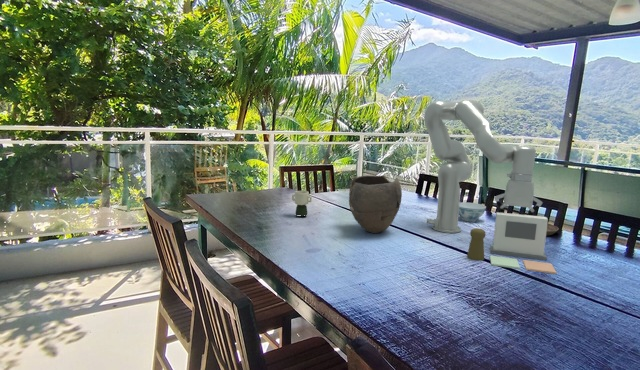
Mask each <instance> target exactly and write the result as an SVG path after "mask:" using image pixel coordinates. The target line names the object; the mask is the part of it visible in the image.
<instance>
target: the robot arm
mask: <svg viewBox="0 0 640 370" xmlns="http://www.w3.org/2000/svg"><path fill="white" fill-rule="evenodd" d="M484 110H485V109H484V106H483V104H482V103H481V102H480V101H477V100H471V99H469V100H468V99H465V100H461V101H448V100H435V101H433V102H431V103H430V104H429V105H427V108H425V111H424V115H423V121H424V125H425V128H426V131H427V133H428V136H429V139H430V142H431V146H432V149H433V152H434V155H435V157H436V159H438V160H439V161H448V162H445V163H443V164H442V165H440V167H439V169H438V171H437V179H438V192H437V193H438V194H437V195H438V196H437V208H436V209H437V210H436V217H435V218H434V219H431V218H426V223H427V224H431V225H432V229H433V230H434V231H436V232H440V233H448V234H454V233H455V234H457V233H460V232H461V231H462V228H461V227H460V226H458V225H459V217H460V215H459V204H460V202H461V187H460V183H461V182H466V181H467V180H468V179H469V178H471V176H472V166H471V163H470V160H469V157H468V154H467V151H466V148H465V146H464V145H463V143H462V142H461V141H459V140H457V139H452V138H451V136H450V134H449V129H448V128H447V126H446V125H445V123H444V120H445V121H460V122H461V123H462V124H463V125H464V126H465V127H466V128H467V130H468V131H470V133H471V134H472V135H473V137H474V141H475V143H476V145H477V147H478V149H479V150H480V152H481V153H482V154H483V155H484V156H485V157H486V158H487V159H488V160H489V161H491V162H492V163H495V164H506V163H507V164H508V163H512V164H511V172H510V173H506V178H509V179H507V183H506V185H505V186H506V187H505V190H504V193H501V194H498V195H496V196H494V200H495V203H496V205H498V207H499V208H500V209H499V213H505V212H506V209H505V207H507V206H510V207H511V206H512V207H520V208H528V211H527V215H530V216H534V212H535V211H537V210H538V209H540V207H541V206H542V205H543V203H544V202H543V201H542V200H540V199H538V198H537V197H535V196H534V195H535V194H534V191H535V187H534V186H535V185H534V184H535V183H534V182H533V181H532V180H533V174H534V173H533V172H534V166H535V160H536V154H537V153H536V151H537V150H536V148H535V147H532V146H525V145H523V146H522V145H521V146H518V145H515V144H510V143H509V144H508V143H506V144H505V143H500V142H499V141H498V140H497V138H495V136H494V135H493V134H492V132H491V128H492V121H491V120H490V119H489V118H488V117H487V116H486V115H485V114H484V112H485V111H484ZM502 198H503V202H501V201H500V199H502ZM534 202H535V203H536V204H535V205H534ZM533 205H534V206H533Z"/></svg>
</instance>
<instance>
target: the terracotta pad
mask: <svg viewBox="0 0 640 370" xmlns="http://www.w3.org/2000/svg"><path fill="white" fill-rule="evenodd" d="M522 263H523V265H524V268H525V270H526V271H532V272H537V273H546V274H550V275H551V274H552V275H553V274H554V275H557V271H556V269H555V267H554V265H553V264H552V263H549V262H542V261H533V260H528V259H527V260H526V259H522Z"/></svg>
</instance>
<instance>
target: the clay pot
mask: <svg viewBox="0 0 640 370" xmlns="http://www.w3.org/2000/svg"><path fill="white" fill-rule="evenodd" d="M402 193H403V192H402V186H401V182H400V180H399V179H398V177H396V178H395V179H394V180H393V181H391V180H389V179H388V178H387V177H386V176H385V175H360V176H355V177H354V178H353V179H352V181H351V183H350V186H349V192H348V205H349V209H350V210H349V211H350V212H351V214H352V216H353V218H354V220H355V221H356V223H358V225H359V226H360V227H361V228H362V229H364V230H365V231H366V232H368V233H373V234H378V233H382V232H384V231H386V230H387V229H388V228H389V227H390V226H391V225H392V223H393V222H394V220H395V218H396V216H397V215H398V212H399V209H400V207H401V202H402V195H403V194H402Z"/></svg>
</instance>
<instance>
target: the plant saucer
mask: <svg viewBox="0 0 640 370" xmlns="http://www.w3.org/2000/svg"><path fill="white" fill-rule="evenodd" d="M558 230H559V227H558V226H556V225H554V224H551V223H549V222H548V223H547V231H546V237H547V236H548V237H549V236H552V235H554V234H555V233H557V232H558Z"/></svg>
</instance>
